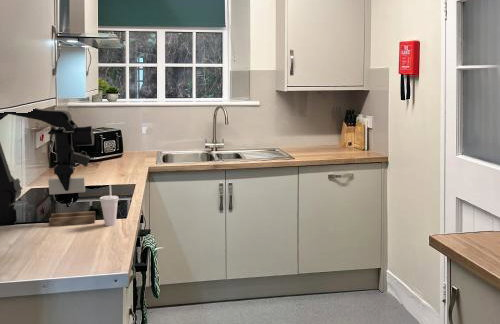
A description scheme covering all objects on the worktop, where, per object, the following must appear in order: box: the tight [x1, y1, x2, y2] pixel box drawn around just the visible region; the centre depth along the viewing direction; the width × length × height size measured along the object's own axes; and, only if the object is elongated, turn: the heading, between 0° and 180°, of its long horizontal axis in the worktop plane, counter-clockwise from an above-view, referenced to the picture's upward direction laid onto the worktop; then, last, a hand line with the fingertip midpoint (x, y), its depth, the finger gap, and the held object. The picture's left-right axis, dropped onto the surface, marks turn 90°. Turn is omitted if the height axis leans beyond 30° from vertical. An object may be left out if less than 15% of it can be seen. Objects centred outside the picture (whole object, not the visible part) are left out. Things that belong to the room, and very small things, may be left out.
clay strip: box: [47, 176, 86, 195], centre depth 191 cm, size 12×3×5 cm, turn 105°
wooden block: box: [48, 210, 96, 227], centre depth 191 cm, size 15×7×3 cm, turn 103°
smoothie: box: [99, 184, 120, 227], centre depth 186 cm, size 6×6×14 cm
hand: (67, 189), depth 191 cm, fingers closed on clay strip, 3 cm apart
